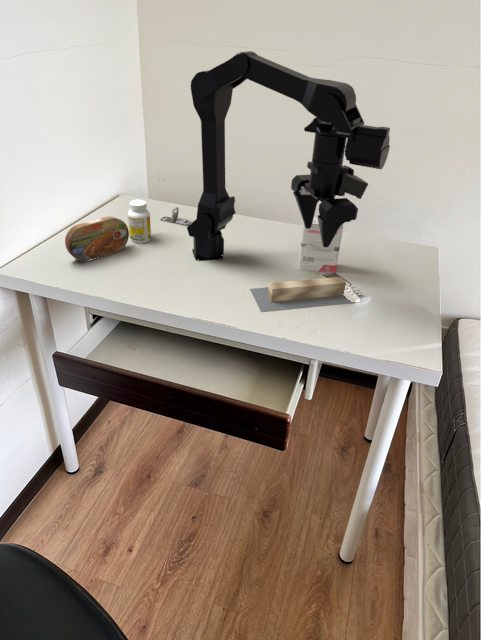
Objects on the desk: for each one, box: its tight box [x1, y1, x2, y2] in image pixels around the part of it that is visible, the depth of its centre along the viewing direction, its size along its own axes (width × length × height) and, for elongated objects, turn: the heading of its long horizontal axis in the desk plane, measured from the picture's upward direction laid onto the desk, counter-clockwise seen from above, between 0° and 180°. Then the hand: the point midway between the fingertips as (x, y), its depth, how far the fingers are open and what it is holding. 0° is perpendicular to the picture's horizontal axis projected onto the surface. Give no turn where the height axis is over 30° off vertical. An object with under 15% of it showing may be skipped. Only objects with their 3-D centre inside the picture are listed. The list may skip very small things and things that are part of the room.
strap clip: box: [159, 206, 192, 227], centre depth 127 cm, size 8×3×4 cm, turn 68°
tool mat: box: [249, 286, 355, 313], centre depth 98 cm, size 22×9×1 cm, turn 104°
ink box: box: [297, 216, 344, 273], centre depth 105 cm, size 9×5×12 cm, turn 84°
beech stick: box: [267, 276, 347, 302], centre depth 97 cm, size 16×2×3 cm, turn 104°
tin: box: [64, 216, 130, 262], centre depth 108 cm, size 15×3×8 cm, turn 131°
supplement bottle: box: [127, 199, 152, 244], centre depth 115 cm, size 5×5×10 cm
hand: (316, 237), depth 95 cm, fingers open, 9 cm apart
